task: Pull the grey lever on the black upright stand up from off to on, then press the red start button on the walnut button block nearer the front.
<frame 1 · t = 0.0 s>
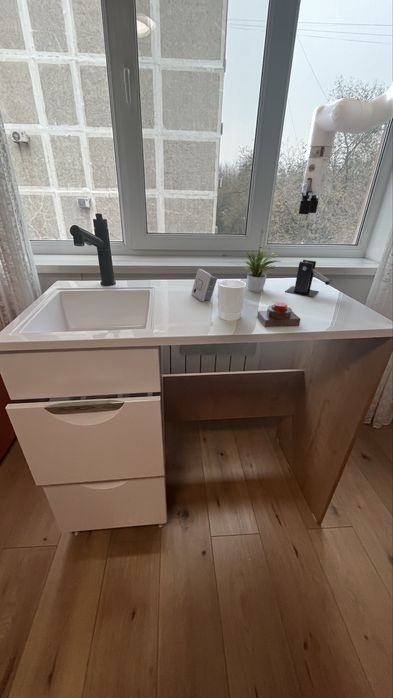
hand: (307, 213, 100), 26 cm above the worktop, tool pointing down, fingers open, 9 cm apart
black upright stand: (301, 294, 105), on the worktop
electrical switch: (202, 297, 100), on the worktop
white cup: (229, 317, 85), on the worktop
grey lever: (316, 273, 99), point 8 cm above the worktop, hinge at -25.0°
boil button: (280, 307, 80), point 4 cm above the worktop, slide at 0.1 cm
button block: (277, 321, 82), on the worktop
house plant: (253, 293, 106), on the worktop
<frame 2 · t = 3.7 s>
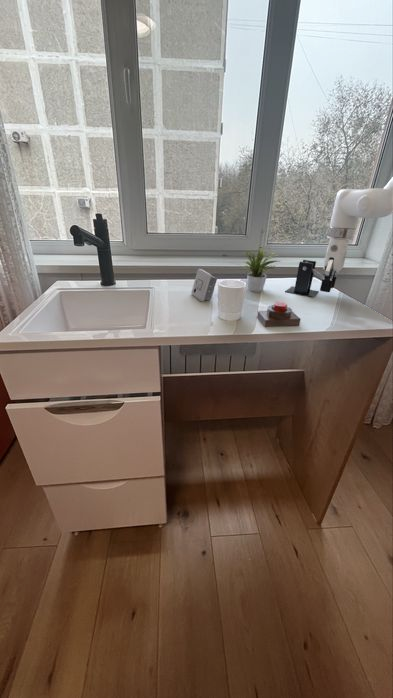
hand: (326, 288, 99), 4 cm above the worktop, tool pointing down, fingers closed on grey lever, 5 cm apart
grey lever: (316, 273, 99), point 8 cm above the worktop, hinge at -25.0°, touching gripper
everything else where it was.
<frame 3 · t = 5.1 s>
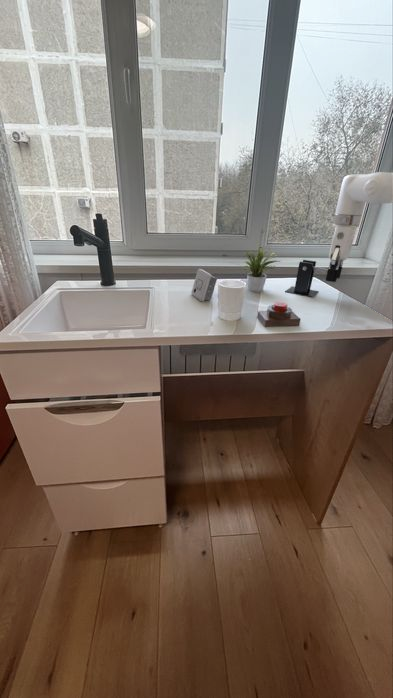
hand: (332, 278, 97), 7 cm above the worktop, tool pointing down, fingers closed on grey lever, 5 cm apart
grey lever: (318, 269, 98), point 10 cm above the worktop, hinge at -2.5°, touching gripper
everything else where it was.
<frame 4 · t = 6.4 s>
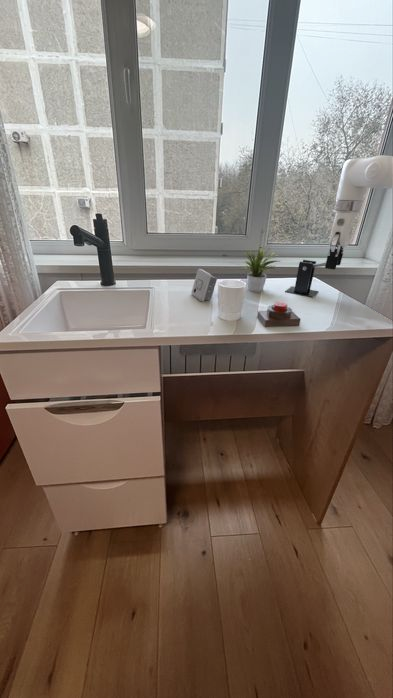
hand: (332, 266, 96), 11 cm above the worktop, tool pointing down, fingers open, 6 cm apart
grey lever: (319, 265, 98), point 11 cm above the worktop, hinge at 16.5°
everything else where it was.
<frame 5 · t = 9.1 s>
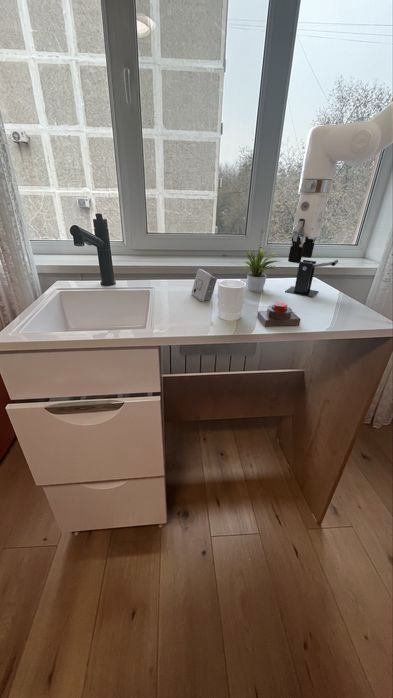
hand: (300, 259, 79), 17 cm above the worktop, tool pointing down, fingers open, 9 cm apart
nothing on the worktop moved.
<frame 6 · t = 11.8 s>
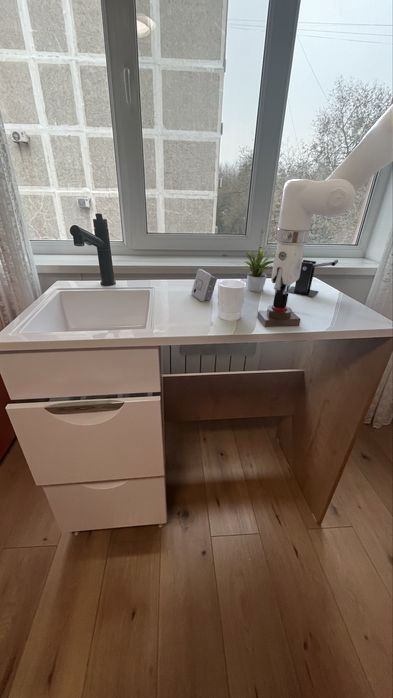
hand: (279, 306, 80), 5 cm above the worktop, tool pointing down, fingers closed
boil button: (279, 309, 80), point 4 cm above the worktop, slide at -0.7 cm, touching gripper
everything else where it was.
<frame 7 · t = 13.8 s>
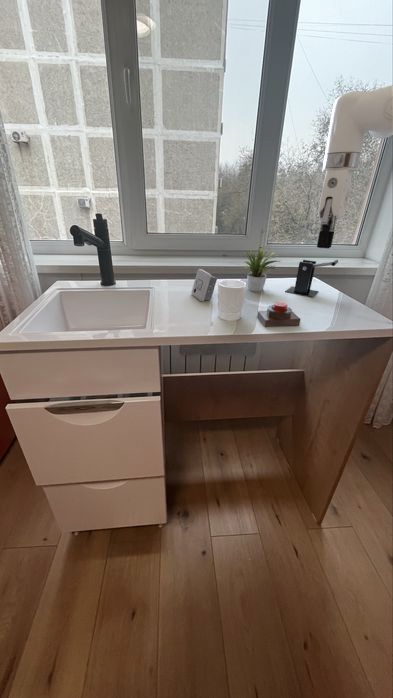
hand: (323, 247, 74), 20 cm above the worktop, tool pointing down, fingers closed
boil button: (280, 307, 80), point 4 cm above the worktop, slide at 0.1 cm
everything else where it was.
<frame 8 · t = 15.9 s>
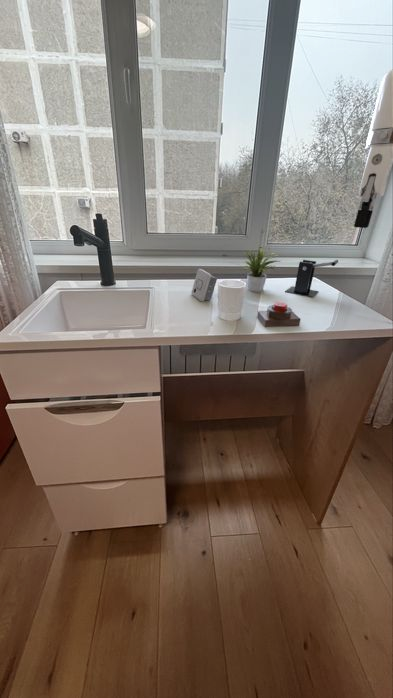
hand: (360, 227, 75), 25 cm above the worktop, tool pointing down, fingers closed
nothing on the worktop moved.
at the end: grey lever at +16° (first picture: -25°); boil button pushed in 1.1 cm at the most during the clip, back to where it started at the end; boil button slide at 0.1 cm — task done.
